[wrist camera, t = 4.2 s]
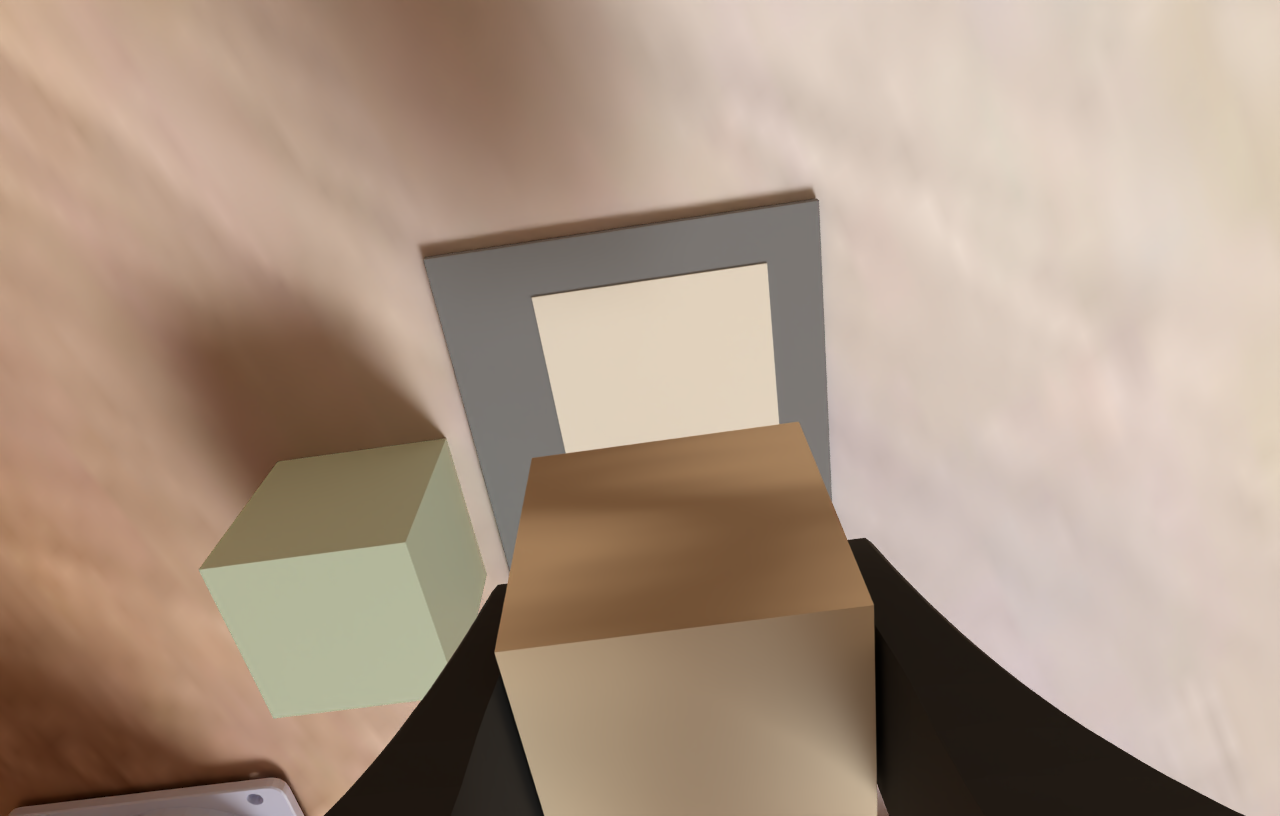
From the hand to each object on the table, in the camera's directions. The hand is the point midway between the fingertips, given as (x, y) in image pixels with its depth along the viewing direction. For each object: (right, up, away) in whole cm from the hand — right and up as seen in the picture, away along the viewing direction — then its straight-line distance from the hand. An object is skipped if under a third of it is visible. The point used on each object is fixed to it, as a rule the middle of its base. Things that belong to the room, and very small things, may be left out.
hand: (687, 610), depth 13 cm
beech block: (0, +1, +2) cm, 2 cm away
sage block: (-8, 0, +9) cm, 12 cm away
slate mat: (0, +3, +8) cm, 8 cm away
